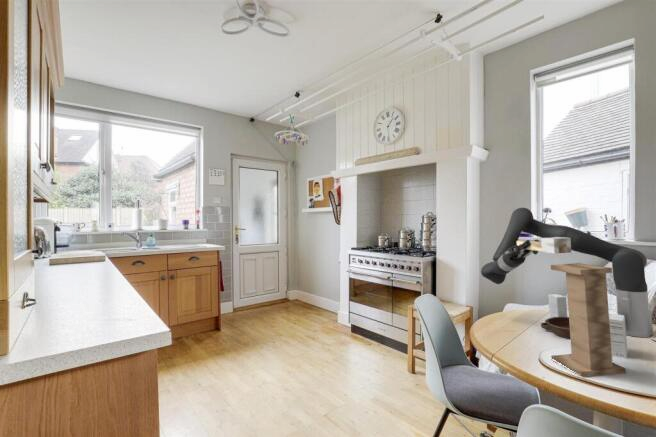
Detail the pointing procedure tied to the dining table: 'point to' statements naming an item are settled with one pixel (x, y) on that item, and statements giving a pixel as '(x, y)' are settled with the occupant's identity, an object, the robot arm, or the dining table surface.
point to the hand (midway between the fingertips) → (533, 242)
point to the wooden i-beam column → (588, 321)
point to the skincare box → (557, 305)
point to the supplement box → (618, 335)
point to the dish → (558, 326)
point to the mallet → (550, 245)
